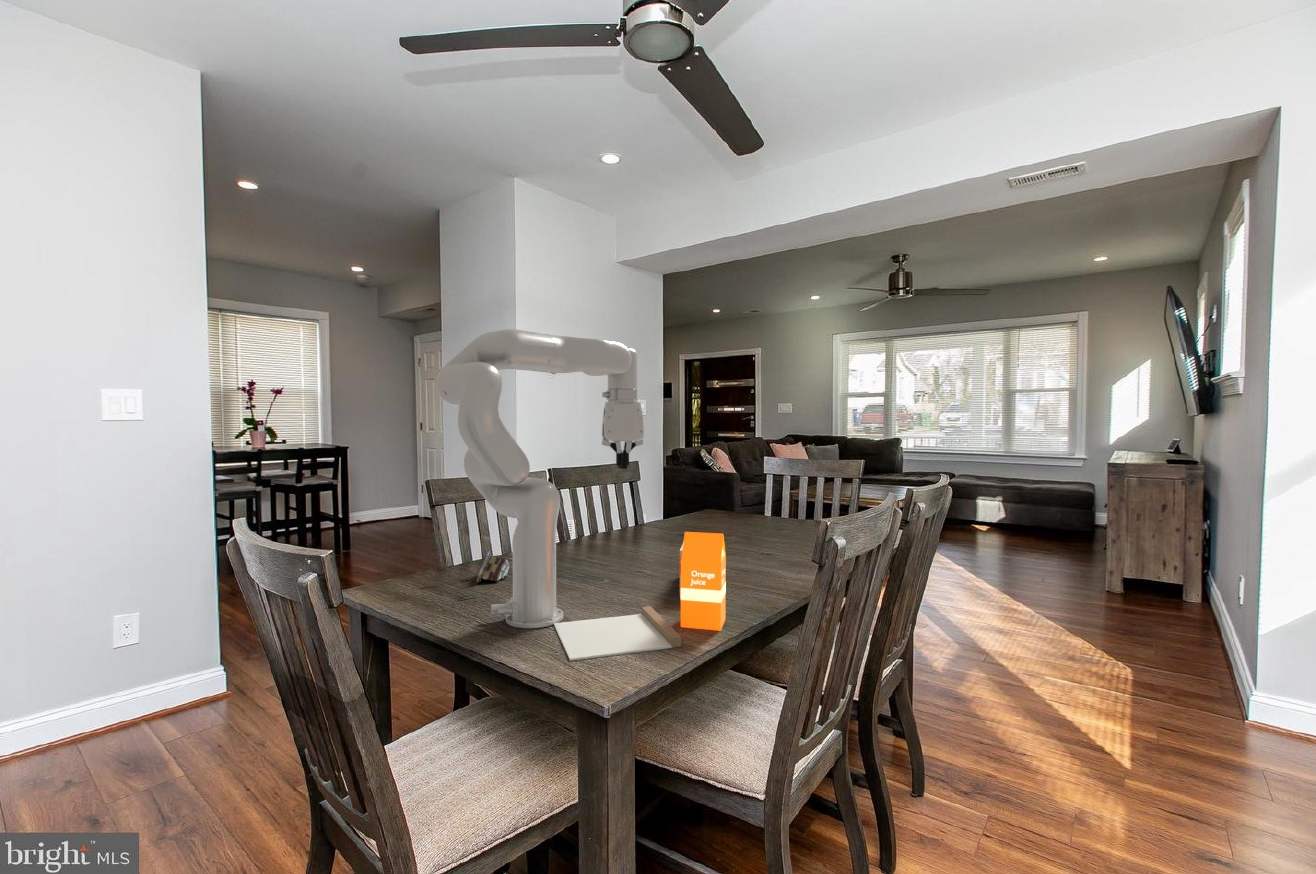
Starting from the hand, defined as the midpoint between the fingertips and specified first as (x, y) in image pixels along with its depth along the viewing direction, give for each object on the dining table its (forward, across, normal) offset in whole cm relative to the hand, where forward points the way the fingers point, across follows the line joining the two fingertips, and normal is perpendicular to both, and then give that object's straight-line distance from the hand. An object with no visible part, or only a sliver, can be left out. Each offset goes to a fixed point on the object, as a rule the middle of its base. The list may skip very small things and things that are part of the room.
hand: (622, 468), depth 153 cm
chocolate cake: (+34, -33, +19) cm, 51 cm away
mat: (+32, -10, -29) cm, 45 cm away
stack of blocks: (+32, +20, 0) cm, 38 cm away
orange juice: (+32, +11, -28) cm, 44 cm away
